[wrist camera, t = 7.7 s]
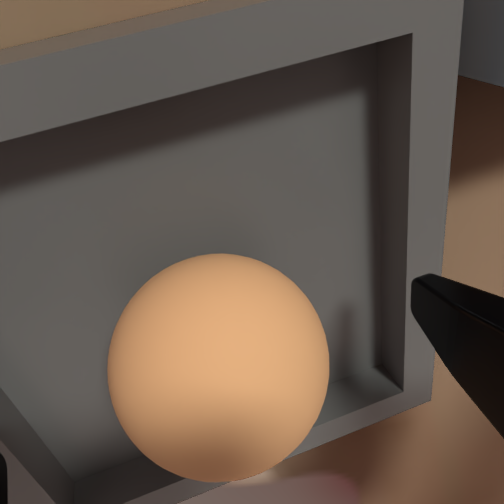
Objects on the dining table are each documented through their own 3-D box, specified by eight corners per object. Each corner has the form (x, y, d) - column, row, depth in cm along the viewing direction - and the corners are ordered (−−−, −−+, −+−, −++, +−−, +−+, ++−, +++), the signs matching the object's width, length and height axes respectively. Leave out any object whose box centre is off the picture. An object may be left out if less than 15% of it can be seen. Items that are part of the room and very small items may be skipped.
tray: (389, -43, 9) (467, -48, 7) (389, 349, 16) (430, 400, 14) (-242, 106, 8) (-359, 152, 6) (57, 475, 14) (51, 554, 12)
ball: (267, 192, 10) (370, 310, 6) (291, 330, 12) (375, 472, 9) (71, 254, 9) (63, 427, 6) (138, 388, 12) (162, 566, 8)
